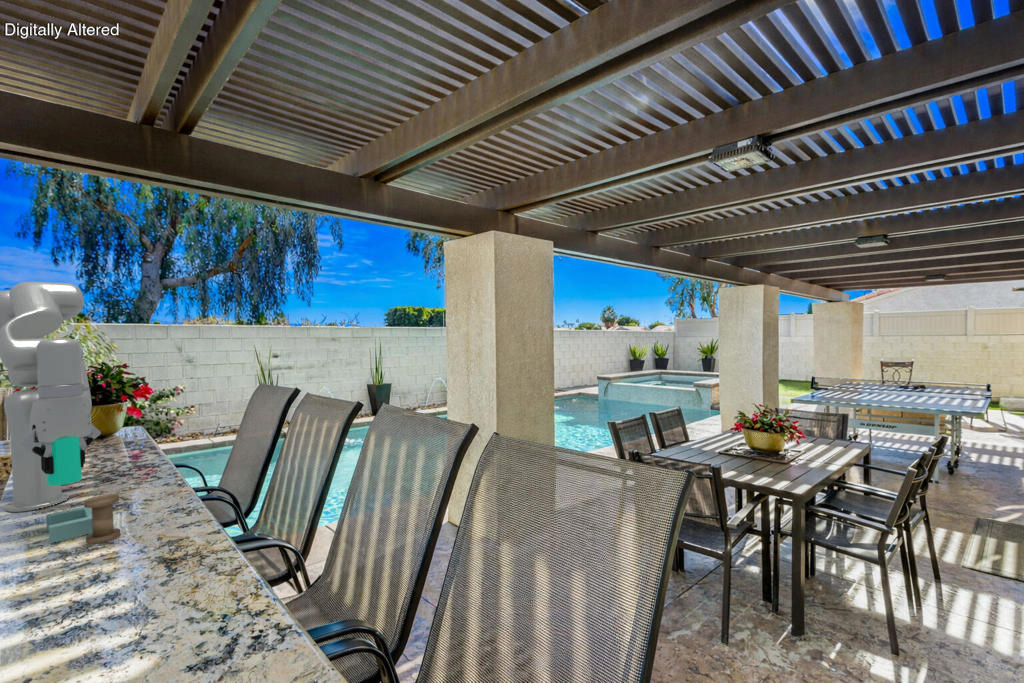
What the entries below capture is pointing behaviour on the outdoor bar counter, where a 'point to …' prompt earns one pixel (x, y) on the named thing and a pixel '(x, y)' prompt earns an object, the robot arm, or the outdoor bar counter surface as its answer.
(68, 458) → the candle
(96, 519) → the bobbin
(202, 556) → the outdoor bar counter surface
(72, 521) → the notch board
